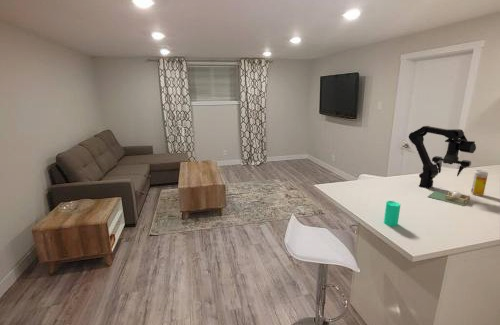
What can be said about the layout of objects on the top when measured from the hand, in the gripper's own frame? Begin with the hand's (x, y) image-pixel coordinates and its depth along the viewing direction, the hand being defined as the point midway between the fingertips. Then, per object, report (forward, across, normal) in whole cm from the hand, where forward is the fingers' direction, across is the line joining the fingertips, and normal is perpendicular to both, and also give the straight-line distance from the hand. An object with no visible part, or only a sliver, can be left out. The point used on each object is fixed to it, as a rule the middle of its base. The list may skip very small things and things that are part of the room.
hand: (448, 174), depth 165 cm
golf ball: (+9, +7, -9) cm, 15 cm away
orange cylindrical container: (+12, +14, +11) cm, 22 cm away
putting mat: (+12, +4, -10) cm, 16 cm away
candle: (+12, -6, -69) cm, 70 cm away
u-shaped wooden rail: (+12, +8, -10) cm, 18 cm away
